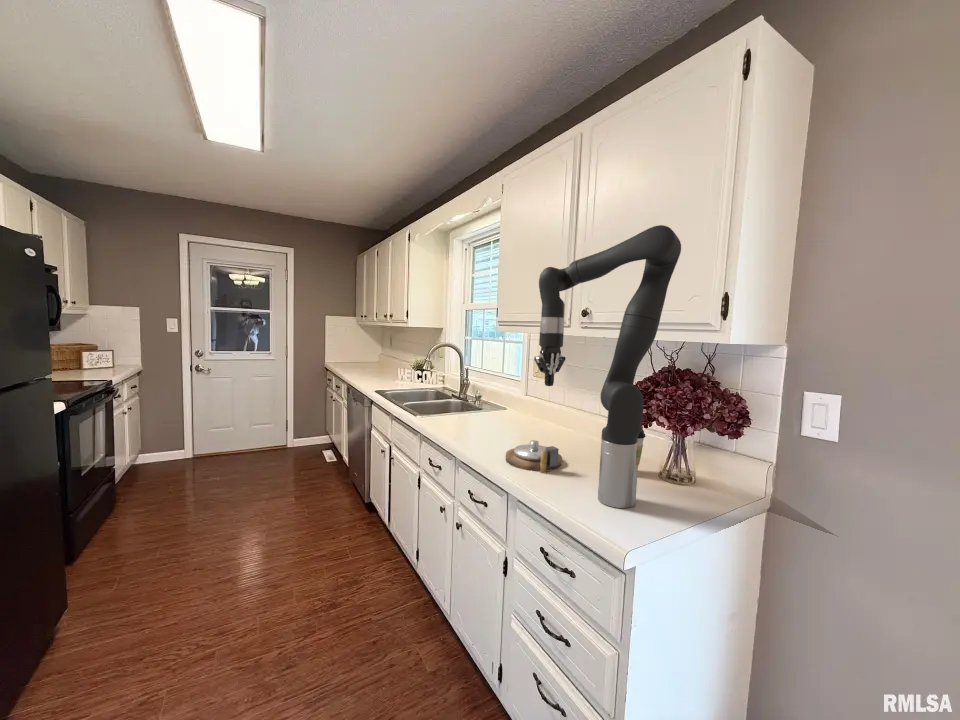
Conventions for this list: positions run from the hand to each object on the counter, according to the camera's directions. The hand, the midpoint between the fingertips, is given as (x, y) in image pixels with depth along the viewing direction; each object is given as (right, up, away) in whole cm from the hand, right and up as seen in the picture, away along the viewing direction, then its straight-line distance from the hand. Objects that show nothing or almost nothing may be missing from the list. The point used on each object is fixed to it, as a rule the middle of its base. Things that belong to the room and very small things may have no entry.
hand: (548, 385), depth 126 cm
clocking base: (-3, -28, +14) cm, 32 cm away
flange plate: (-2, -26, +12) cm, 28 cm away
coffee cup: (+27, -30, +6) cm, 41 cm away
